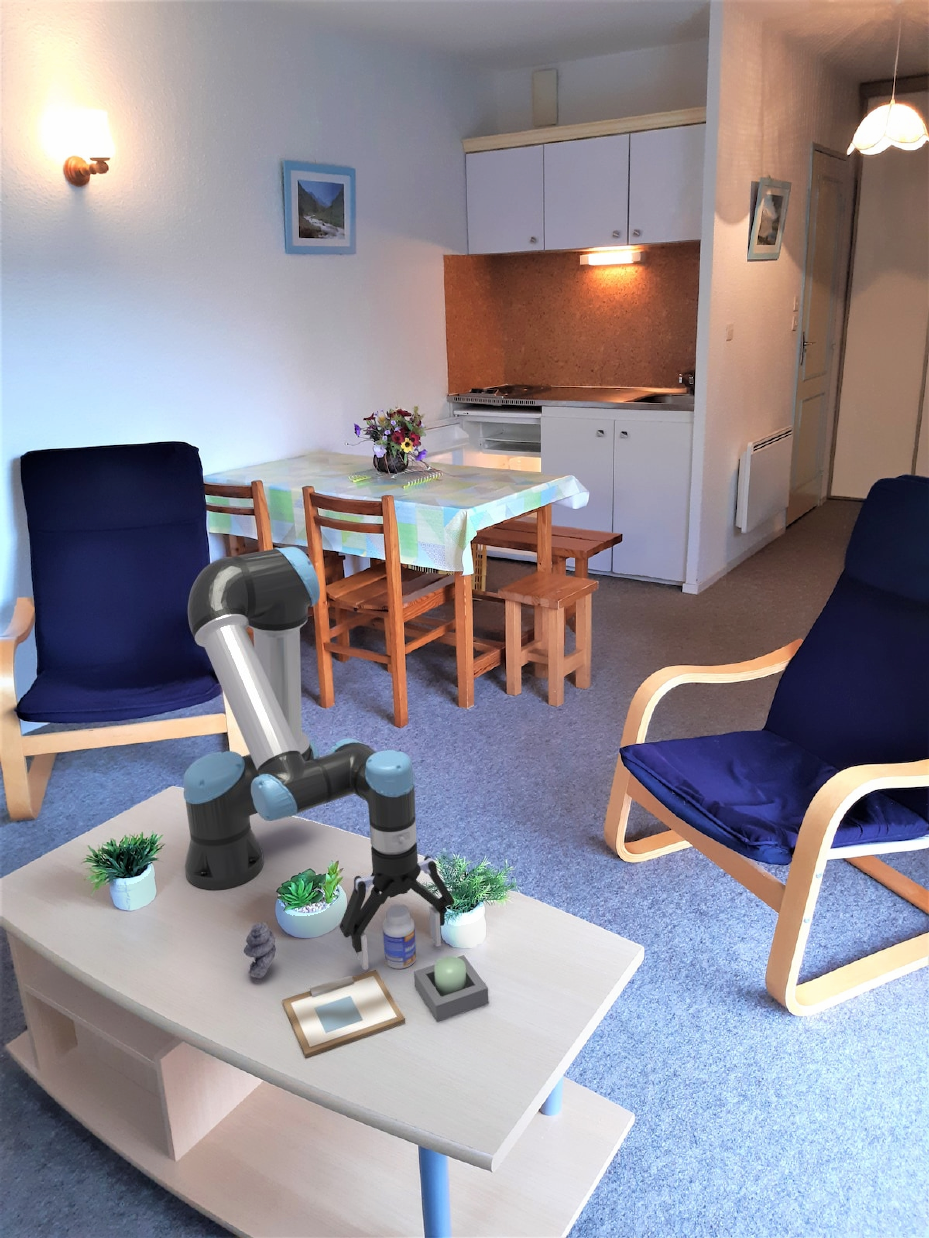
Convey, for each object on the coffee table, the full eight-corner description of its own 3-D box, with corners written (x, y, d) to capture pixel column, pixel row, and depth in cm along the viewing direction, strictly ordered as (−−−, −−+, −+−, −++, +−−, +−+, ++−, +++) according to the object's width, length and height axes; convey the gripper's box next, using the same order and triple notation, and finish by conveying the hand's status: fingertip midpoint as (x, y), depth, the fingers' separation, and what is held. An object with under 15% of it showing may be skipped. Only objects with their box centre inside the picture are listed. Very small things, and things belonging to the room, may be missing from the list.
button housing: (414, 986, 156) (413, 971, 155) (464, 969, 159) (463, 954, 158) (436, 1021, 148) (436, 1005, 147) (488, 1003, 152) (488, 987, 151)
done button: (430, 982, 154) (429, 962, 153) (458, 973, 156) (457, 952, 155) (442, 1001, 150) (442, 980, 149) (471, 991, 152) (470, 970, 151)
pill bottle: (411, 971, 159) (409, 922, 156) (380, 967, 160) (377, 918, 157) (419, 950, 164) (417, 902, 161) (389, 947, 166) (386, 899, 162)
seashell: (245, 968, 161) (239, 918, 158) (277, 960, 163) (271, 911, 160) (249, 988, 156) (243, 937, 153) (281, 980, 158) (276, 929, 155)
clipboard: (282, 1003, 153) (281, 995, 152) (376, 973, 159) (375, 965, 159) (305, 1058, 142) (304, 1049, 141) (405, 1022, 148) (404, 1014, 147)
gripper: (328, 875, 147) (338, 989, 154) (471, 835, 157) (474, 944, 164) (314, 851, 154) (324, 962, 160) (452, 814, 163) (456, 920, 170)
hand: (400, 953), depth 162 cm, fingers open, 12 cm apart
